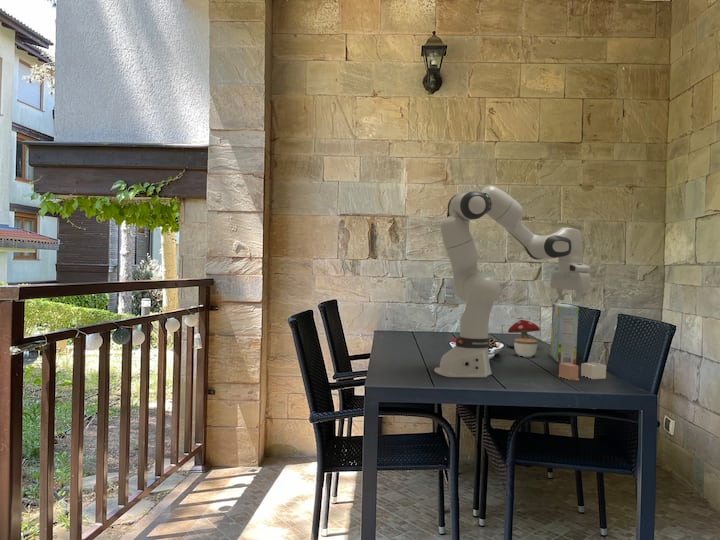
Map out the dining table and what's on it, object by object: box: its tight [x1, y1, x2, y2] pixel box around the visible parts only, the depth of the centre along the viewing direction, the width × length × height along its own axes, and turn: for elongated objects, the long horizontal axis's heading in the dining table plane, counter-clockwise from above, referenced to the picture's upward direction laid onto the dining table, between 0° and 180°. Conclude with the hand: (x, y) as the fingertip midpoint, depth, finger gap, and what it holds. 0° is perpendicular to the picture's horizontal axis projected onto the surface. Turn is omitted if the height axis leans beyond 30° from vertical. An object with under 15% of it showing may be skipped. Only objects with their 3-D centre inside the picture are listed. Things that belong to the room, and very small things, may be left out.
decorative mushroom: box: [507, 319, 541, 339], centre depth 270 cm, size 16×16×15 cm
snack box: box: [550, 303, 580, 365], centre depth 238 cm, size 22×9×26 cm, turn 168°
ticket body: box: [580, 362, 607, 380], centre depth 202 cm, size 6×6×5 cm
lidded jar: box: [513, 337, 538, 358], centre depth 246 cm, size 11×11×9 cm
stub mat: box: [558, 375, 580, 381], centre depth 199 cm, size 4×7×1 cm, turn 16°
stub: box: [558, 363, 579, 379], centre depth 199 cm, size 4×6×5 cm, turn 16°
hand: (568, 300), depth 211 cm, fingers open, 8 cm apart
